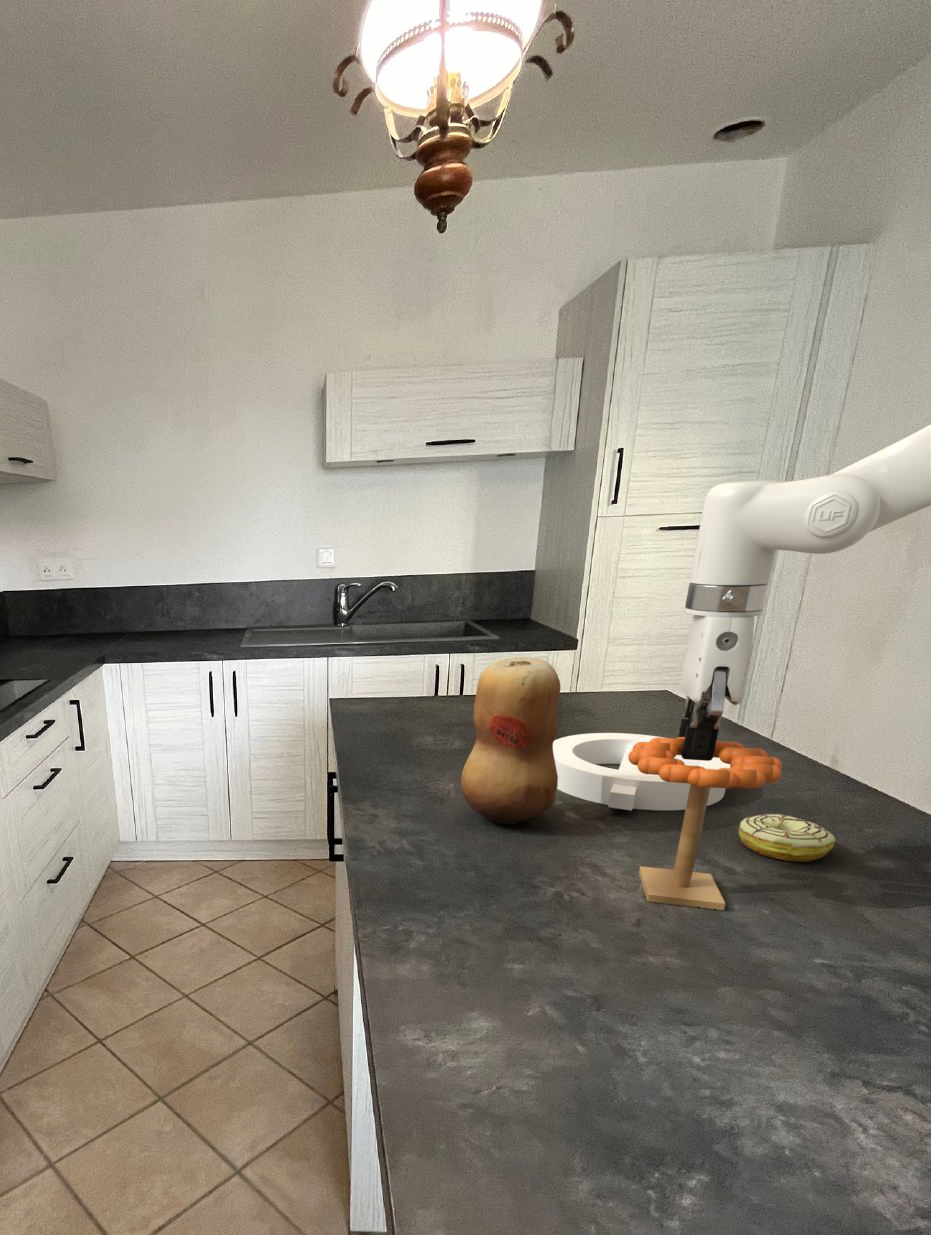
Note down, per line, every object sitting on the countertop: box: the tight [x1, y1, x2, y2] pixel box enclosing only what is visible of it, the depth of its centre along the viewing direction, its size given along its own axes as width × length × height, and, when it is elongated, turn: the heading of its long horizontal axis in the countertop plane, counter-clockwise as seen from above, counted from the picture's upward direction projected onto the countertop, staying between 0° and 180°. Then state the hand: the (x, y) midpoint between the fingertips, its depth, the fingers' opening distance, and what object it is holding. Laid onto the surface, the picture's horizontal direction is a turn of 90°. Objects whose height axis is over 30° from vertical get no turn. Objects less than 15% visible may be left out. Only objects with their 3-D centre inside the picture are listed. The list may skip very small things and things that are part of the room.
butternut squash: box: [460, 656, 561, 825], centre depth 108 cm, size 14×13×25 cm
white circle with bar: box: [553, 732, 731, 811], centre depth 126 cm, size 28×28×5 cm
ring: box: [628, 736, 783, 790], centre depth 84 cm, size 16×13×2 cm
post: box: [638, 784, 726, 912], centre depth 87 cm, size 8×8×15 cm
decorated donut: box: [738, 813, 836, 863], centre depth 99 cm, size 10×11×4 cm
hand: (693, 753), depth 88 cm, fingers closed on ring, 2 cm apart
